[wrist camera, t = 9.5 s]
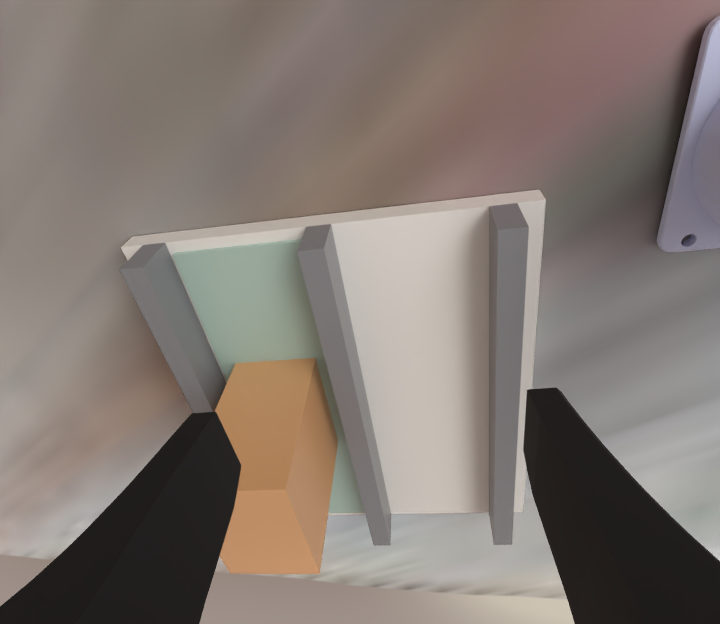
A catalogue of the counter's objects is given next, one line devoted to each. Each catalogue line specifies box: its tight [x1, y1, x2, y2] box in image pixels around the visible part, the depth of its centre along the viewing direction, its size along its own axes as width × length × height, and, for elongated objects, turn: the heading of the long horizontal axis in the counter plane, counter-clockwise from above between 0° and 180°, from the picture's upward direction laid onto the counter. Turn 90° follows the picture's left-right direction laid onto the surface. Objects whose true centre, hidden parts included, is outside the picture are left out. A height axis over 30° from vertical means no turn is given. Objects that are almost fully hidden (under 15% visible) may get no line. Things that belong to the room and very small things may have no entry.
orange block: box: [215, 358, 338, 574], centre depth 21 cm, size 4×6×7 cm, turn 9°
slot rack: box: [120, 190, 546, 545], centre depth 24 cm, size 17×20×3 cm
